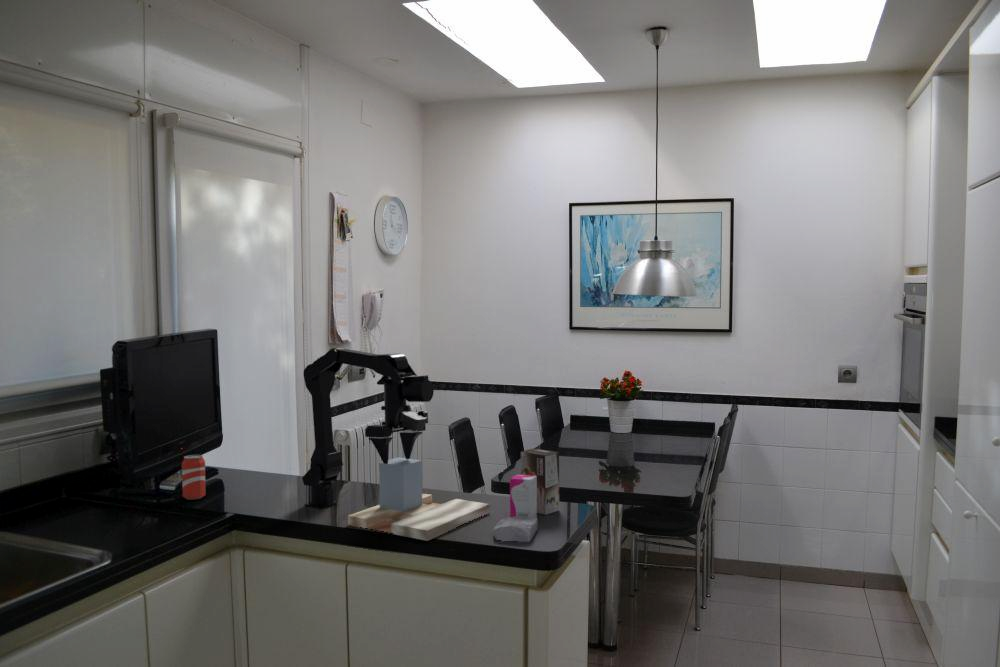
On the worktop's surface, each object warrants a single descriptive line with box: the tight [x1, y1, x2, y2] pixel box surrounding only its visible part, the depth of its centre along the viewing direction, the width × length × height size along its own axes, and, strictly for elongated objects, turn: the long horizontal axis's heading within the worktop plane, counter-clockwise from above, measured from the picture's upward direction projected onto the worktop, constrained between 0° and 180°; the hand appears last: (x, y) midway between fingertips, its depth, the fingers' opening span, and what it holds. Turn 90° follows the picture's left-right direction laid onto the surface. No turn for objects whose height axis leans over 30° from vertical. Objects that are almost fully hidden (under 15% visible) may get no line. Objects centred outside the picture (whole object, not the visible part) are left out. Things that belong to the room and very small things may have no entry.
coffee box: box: [520, 448, 560, 515], centre depth 218 cm, size 9×6×16 cm
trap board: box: [347, 492, 491, 542], centre depth 209 cm, size 25×28×2 cm
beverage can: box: [181, 454, 206, 501], centre depth 231 cm, size 6×6×12 cm
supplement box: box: [509, 474, 538, 519], centre depth 208 cm, size 6×6×12 cm
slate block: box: [378, 456, 423, 512], centre depth 212 cm, size 8×8×12 cm
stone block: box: [493, 516, 539, 543], centre depth 196 cm, size 12×5×10 cm
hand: (396, 461), depth 210 cm, fingers open, 9 cm apart
